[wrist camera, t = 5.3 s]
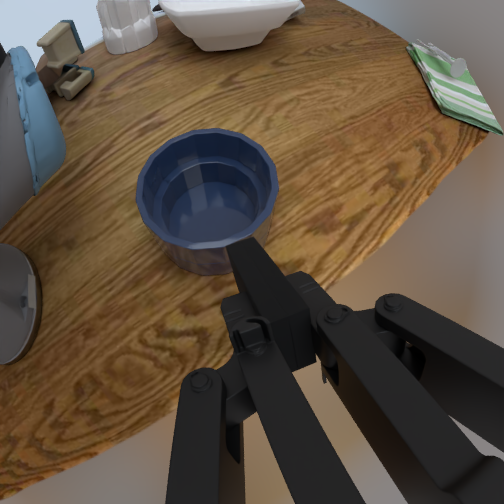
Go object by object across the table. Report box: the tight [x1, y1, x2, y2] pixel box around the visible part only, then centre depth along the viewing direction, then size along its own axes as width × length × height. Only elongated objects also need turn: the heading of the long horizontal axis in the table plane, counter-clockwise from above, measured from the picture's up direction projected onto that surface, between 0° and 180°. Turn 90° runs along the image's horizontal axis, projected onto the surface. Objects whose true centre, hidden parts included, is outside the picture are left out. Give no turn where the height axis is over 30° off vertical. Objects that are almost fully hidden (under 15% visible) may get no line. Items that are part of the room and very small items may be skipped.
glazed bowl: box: [136, 128, 279, 275], centre depth 28 cm, size 12×12×8 cm
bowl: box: [158, 0, 299, 51], centre depth 39 cm, size 22×22×12 cm
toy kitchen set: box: [37, 20, 94, 100], centre depth 34 cm, size 18×14×11 cm
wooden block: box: [36, 53, 64, 89], centre depth 34 cm, size 4×4×8 cm
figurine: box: [417, 40, 466, 78], centre depth 43 cm, size 5×5×12 cm
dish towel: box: [406, 42, 503, 135], centre depth 43 cm, size 18×23×3 cm
